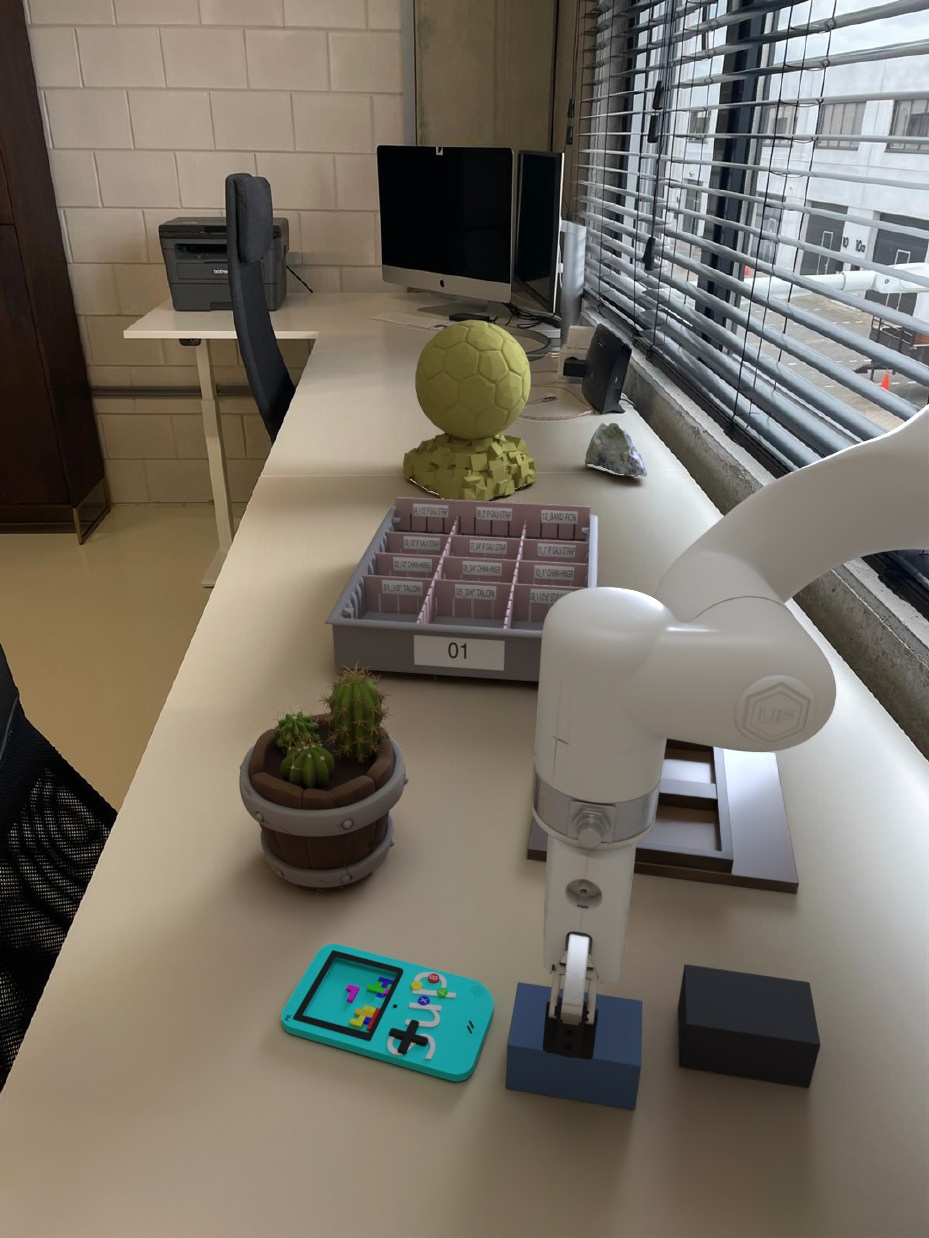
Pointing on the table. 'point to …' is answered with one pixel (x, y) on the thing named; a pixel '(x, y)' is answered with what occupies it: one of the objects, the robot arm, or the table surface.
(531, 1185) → the table surface
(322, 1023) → the handheld gaming console
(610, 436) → the mineral rock
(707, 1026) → the black rectangular block
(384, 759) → the flowerpot
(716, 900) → the table surface
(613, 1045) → the blue block
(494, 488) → the trophy
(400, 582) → the organizer tray
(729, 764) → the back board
